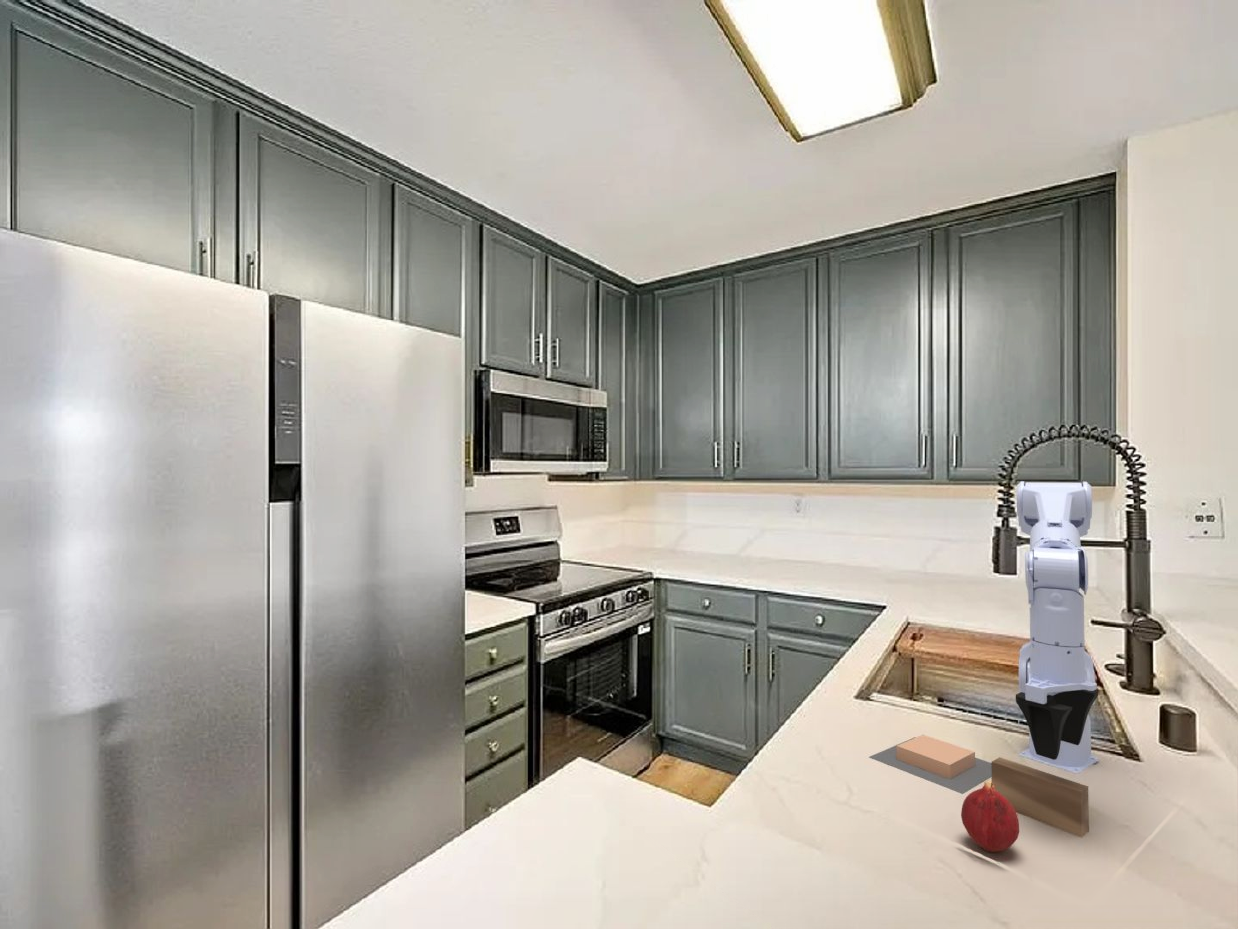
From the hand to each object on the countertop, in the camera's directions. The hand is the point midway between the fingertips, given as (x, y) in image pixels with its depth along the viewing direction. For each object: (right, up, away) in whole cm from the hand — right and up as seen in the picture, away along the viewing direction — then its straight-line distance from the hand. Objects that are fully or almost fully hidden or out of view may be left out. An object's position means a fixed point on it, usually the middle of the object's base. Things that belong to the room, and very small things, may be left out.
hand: (1058, 749), depth 78 cm
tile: (-5, -8, +13) cm, 16 cm away
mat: (-7, -10, +16) cm, 20 cm away
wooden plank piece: (-2, -9, 0) cm, 10 cm away
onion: (-13, -9, -7) cm, 17 cm away
